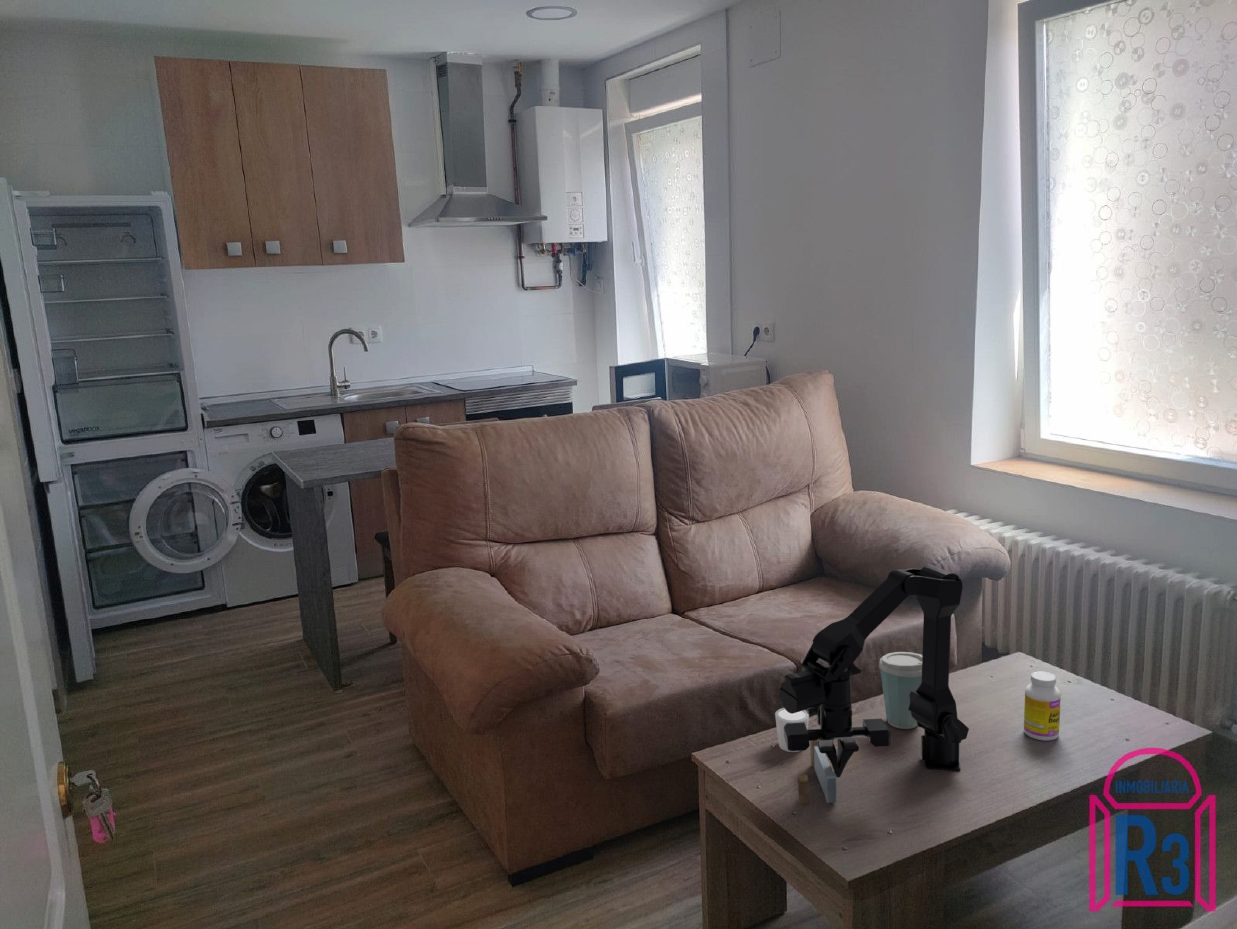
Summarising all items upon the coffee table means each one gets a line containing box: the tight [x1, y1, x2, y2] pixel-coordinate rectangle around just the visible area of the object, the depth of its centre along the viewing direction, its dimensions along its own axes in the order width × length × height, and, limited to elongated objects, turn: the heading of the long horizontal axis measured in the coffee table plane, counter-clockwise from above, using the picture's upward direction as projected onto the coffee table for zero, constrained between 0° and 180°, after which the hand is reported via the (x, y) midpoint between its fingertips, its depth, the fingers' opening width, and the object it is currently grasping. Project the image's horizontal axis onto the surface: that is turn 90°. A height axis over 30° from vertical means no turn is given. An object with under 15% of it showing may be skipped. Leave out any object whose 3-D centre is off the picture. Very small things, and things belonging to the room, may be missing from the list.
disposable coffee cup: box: [878, 651, 922, 730], centre depth 197 cm, size 11×11×15 cm
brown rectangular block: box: [797, 774, 810, 805], centre depth 170 cm, size 2×2×5 cm
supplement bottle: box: [1023, 670, 1062, 742], centre depth 189 cm, size 7×7×13 cm
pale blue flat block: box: [809, 740, 838, 804], centre depth 176 cm, size 15×2×6 cm, turn 179°
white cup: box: [774, 707, 810, 753], centre depth 191 cm, size 7×7×7 cm
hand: (837, 776), depth 172 cm, fingers closed
